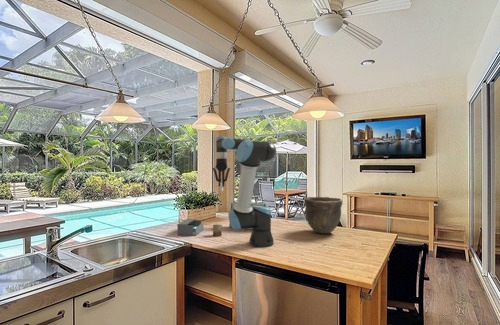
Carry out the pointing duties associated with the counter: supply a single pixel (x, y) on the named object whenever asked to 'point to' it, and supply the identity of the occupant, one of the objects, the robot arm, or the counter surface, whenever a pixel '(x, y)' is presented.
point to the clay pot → (323, 213)
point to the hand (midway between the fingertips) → (221, 191)
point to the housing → (187, 227)
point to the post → (217, 230)
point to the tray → (198, 229)
